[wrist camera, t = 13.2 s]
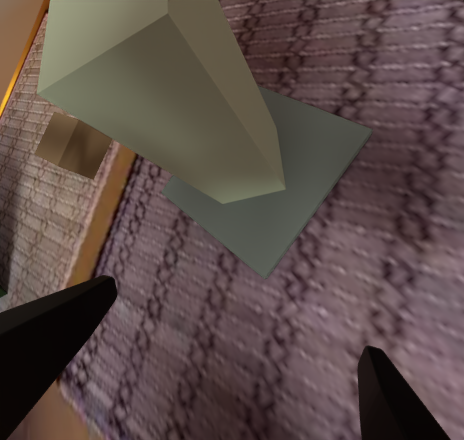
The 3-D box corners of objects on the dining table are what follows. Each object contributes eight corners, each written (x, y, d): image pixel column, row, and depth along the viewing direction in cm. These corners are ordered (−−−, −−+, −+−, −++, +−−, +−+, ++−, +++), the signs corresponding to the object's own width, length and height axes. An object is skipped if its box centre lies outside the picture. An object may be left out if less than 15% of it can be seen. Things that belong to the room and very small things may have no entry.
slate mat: (266, 278, 17) (264, 278, 17) (165, 194, 23) (161, 192, 22) (371, 134, 16) (372, 129, 16) (240, 82, 22) (237, 77, 21)
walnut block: (94, 180, 27) (57, 165, 24) (71, 168, 30) (34, 153, 26) (113, 139, 28) (78, 119, 24) (88, 131, 30) (54, 111, 26)
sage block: (222, 204, 19) (36, 94, 8) (217, 147, 20) (53, -21, 9) (285, 189, 17) (167, 13, 6) (276, 128, 19) (164, -117, 7)
